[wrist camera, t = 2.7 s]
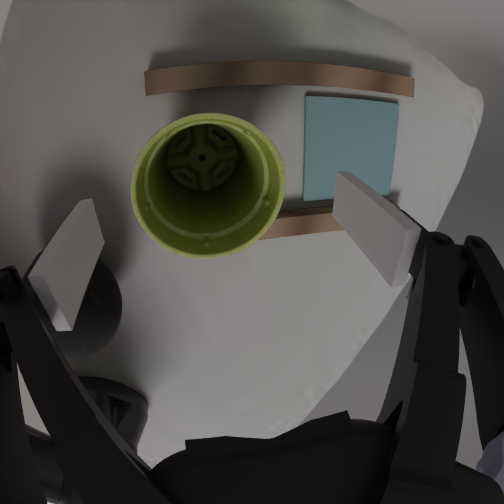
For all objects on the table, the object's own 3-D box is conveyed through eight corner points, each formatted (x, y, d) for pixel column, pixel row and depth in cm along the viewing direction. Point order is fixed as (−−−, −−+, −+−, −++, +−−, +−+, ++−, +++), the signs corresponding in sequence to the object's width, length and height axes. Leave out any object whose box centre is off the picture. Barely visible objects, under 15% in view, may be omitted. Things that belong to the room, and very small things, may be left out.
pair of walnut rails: (170, 243, 28) (169, 251, 27) (146, 72, 19) (144, 71, 18) (389, 217, 32) (396, 223, 30) (405, 77, 23) (414, 78, 22)
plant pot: (278, 144, 25) (316, 174, 18) (214, 224, 28) (225, 280, 21) (191, 82, 21) (190, 80, 14) (128, 173, 24) (104, 216, 17)
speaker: (43, 293, 28) (15, 359, 20) (47, 218, 24) (1, 280, 16) (120, 316, 32) (108, 388, 24) (137, 246, 28) (122, 319, 19)
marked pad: (302, 199, 28) (303, 201, 28) (304, 95, 23) (306, 95, 23) (386, 193, 30) (388, 195, 30) (396, 103, 24) (398, 104, 24)
